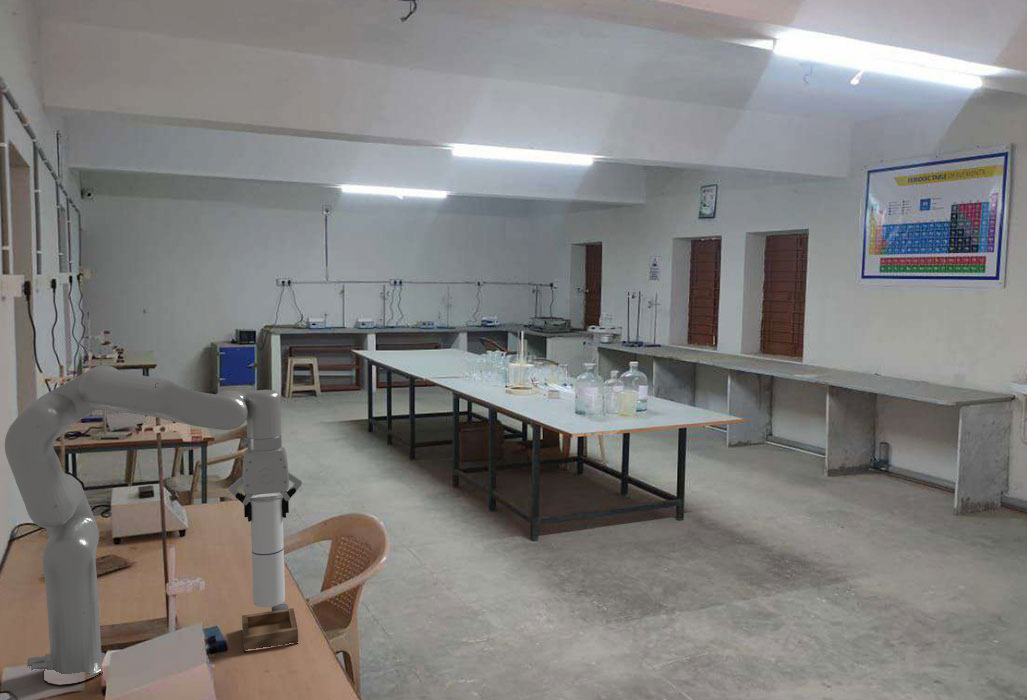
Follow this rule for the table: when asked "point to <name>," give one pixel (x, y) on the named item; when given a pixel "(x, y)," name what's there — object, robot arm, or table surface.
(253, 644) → the walnut stand
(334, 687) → the table surface
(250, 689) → the table surface
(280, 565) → the cylindrical container
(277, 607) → the rubber stopper
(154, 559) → the table surface
